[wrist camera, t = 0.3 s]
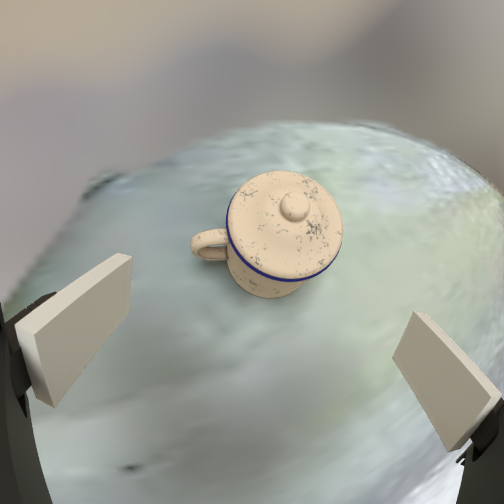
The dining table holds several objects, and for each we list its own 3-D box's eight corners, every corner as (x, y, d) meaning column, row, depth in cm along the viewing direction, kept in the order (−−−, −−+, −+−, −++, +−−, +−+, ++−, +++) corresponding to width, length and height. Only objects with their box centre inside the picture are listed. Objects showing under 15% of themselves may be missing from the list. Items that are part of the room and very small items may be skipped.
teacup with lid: (301, 214, 31) (339, 149, 21) (318, 294, 29) (374, 260, 18) (192, 223, 30) (179, 154, 19) (200, 310, 27) (186, 283, 16)
